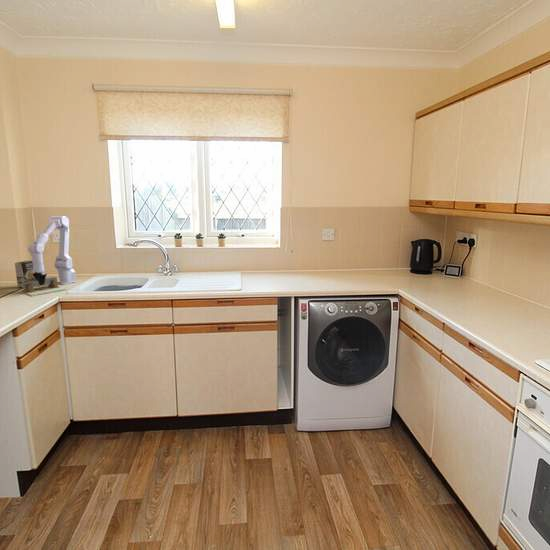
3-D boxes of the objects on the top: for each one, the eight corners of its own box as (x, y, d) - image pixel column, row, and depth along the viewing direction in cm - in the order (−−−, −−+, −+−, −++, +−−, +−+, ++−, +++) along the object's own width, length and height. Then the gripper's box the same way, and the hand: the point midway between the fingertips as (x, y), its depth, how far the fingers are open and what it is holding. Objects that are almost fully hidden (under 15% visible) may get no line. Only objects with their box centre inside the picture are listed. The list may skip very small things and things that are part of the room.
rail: (55, 282, 254) (54, 276, 254) (57, 282, 252) (56, 277, 251) (23, 287, 241) (22, 281, 240) (25, 288, 239) (25, 282, 238)
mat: (61, 287, 252) (61, 286, 251) (67, 289, 246) (67, 288, 246) (26, 294, 237) (26, 293, 236) (31, 296, 231) (31, 295, 231)
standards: (54, 286, 257) (53, 278, 256) (59, 287, 251) (58, 280, 250) (22, 291, 243) (21, 283, 242) (28, 293, 238) (26, 285, 237)
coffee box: (26, 288, 251) (22, 263, 248) (17, 287, 253) (13, 262, 249) (37, 285, 260) (34, 260, 257) (28, 284, 261) (25, 260, 258)
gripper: (26, 262, 245) (29, 284, 248) (35, 265, 236) (38, 287, 239) (38, 261, 251) (41, 282, 253) (48, 263, 241) (51, 285, 244)
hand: (40, 284), depth 246 cm, fingers closed on rail, 3 cm apart
